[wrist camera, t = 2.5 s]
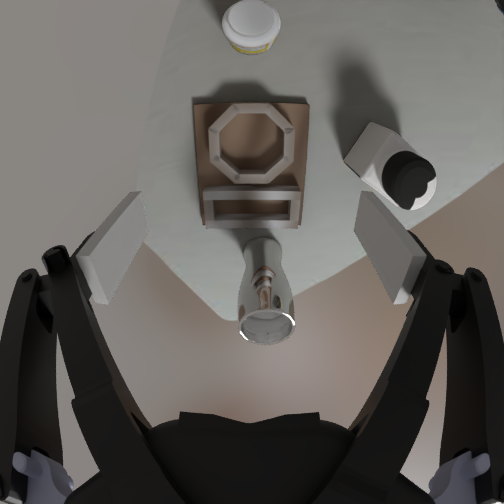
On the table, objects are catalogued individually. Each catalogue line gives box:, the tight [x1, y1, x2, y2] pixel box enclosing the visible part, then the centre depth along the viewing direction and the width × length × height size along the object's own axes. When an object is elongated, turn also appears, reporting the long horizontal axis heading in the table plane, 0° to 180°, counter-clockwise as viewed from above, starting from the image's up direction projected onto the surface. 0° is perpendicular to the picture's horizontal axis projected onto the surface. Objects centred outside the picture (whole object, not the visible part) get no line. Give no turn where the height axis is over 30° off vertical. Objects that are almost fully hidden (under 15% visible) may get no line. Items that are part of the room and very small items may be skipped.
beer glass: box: [238, 237, 295, 345], centre depth 36 cm, size 7×7×15 cm
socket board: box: [194, 102, 310, 229], centre depth 33 cm, size 14×17×3 cm
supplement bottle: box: [222, 0, 281, 55], centre depth 20 cm, size 6×6×10 cm
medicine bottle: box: [344, 122, 436, 210], centre depth 28 cm, size 7×7×12 cm
